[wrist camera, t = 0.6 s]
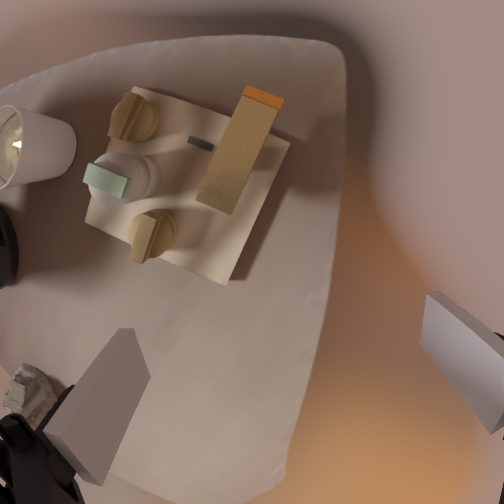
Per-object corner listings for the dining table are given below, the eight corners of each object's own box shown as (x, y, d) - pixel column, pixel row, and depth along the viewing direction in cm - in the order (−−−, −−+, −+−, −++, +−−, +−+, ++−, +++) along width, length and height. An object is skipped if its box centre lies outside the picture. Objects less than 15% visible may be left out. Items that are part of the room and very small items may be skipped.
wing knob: (212, 192, 31) (194, 200, 21) (249, 111, 28) (246, 84, 19) (238, 204, 31) (231, 215, 22) (275, 122, 29) (284, 99, 19)
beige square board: (92, 219, 34) (40, 237, 23) (139, 90, 30) (97, 62, 19) (227, 280, 36) (216, 324, 25) (288, 145, 32) (305, 130, 21)
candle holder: (79, 106, 30) (23, 89, 18) (85, 173, 32) (26, 176, 21) (32, 129, 30) (-24, 124, 19) (37, 190, 33) (-20, 200, 21)
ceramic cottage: (51, 375, 42) (10, 421, 27) (68, 423, 46) (38, 465, 32) (5, 346, 42) (-35, 381, 28) (22, 395, 47) (-8, 429, 32)
